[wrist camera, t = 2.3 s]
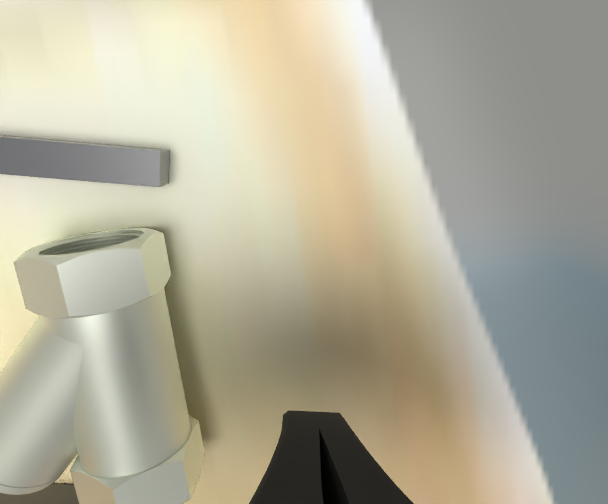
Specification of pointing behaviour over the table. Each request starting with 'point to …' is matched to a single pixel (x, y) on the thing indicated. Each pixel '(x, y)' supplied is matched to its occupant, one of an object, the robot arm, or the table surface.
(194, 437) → the pipe fitting
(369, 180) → the table surface
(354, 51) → the table surface
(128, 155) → the dark grey bars
